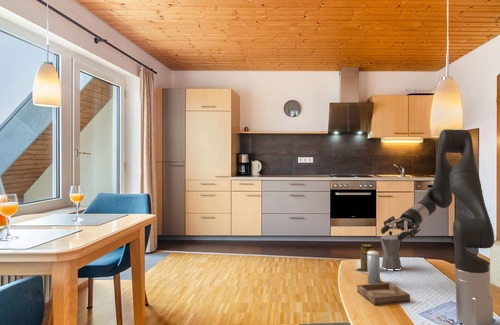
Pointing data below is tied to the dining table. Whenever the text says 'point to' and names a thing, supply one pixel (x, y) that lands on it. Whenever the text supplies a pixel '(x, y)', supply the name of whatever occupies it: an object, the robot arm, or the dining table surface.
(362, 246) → the condiment
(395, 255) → the coffeepot
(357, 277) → the dining table surface
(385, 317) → the dining table surface
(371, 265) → the salt shaker
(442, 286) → the dining table surface
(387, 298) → the tray
